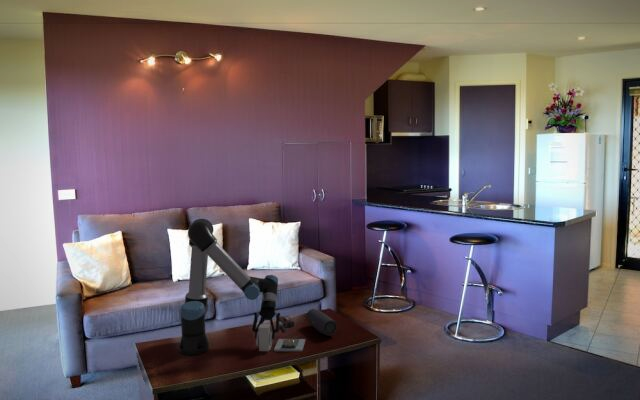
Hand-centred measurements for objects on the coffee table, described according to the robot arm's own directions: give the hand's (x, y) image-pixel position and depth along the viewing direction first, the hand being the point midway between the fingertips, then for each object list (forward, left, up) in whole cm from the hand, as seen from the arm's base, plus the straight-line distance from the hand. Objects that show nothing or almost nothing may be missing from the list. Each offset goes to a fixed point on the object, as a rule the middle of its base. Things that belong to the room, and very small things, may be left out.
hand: (263, 344), depth 260 cm
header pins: (+12, +3, -2) cm, 13 cm away
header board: (+12, +8, -3) cm, 15 cm away
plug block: (0, +4, -3) cm, 5 cm away
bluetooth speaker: (+26, +30, -4) cm, 40 cm away
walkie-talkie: (+5, +38, -4) cm, 38 cm away
